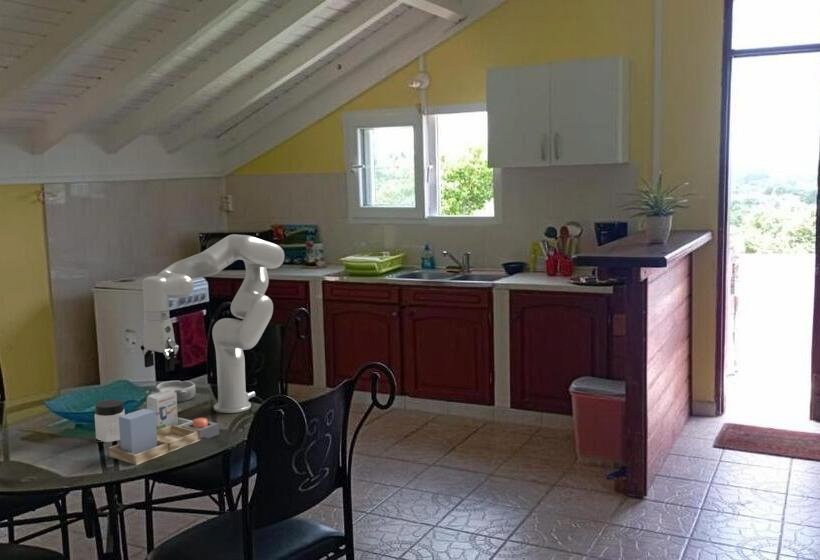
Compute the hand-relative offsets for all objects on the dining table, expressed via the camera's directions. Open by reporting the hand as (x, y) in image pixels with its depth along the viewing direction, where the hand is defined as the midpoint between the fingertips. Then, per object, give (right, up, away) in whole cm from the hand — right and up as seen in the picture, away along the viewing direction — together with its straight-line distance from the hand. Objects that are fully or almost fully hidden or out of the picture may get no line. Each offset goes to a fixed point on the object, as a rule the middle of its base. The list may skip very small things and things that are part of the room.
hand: (159, 368), depth 265 cm
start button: (+14, -20, -3) cm, 24 cm away
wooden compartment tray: (+4, -23, -17) cm, 29 cm away
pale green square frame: (0, -20, +3) cm, 20 cm away
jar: (-13, -22, -7) cm, 26 cm away
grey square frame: (+14, -21, -3) cm, 25 cm away
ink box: (0, -20, +3) cm, 20 cm away
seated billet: (+1, -23, -22) cm, 31 cm away
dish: (-5, -15, +39) cm, 42 cm away
